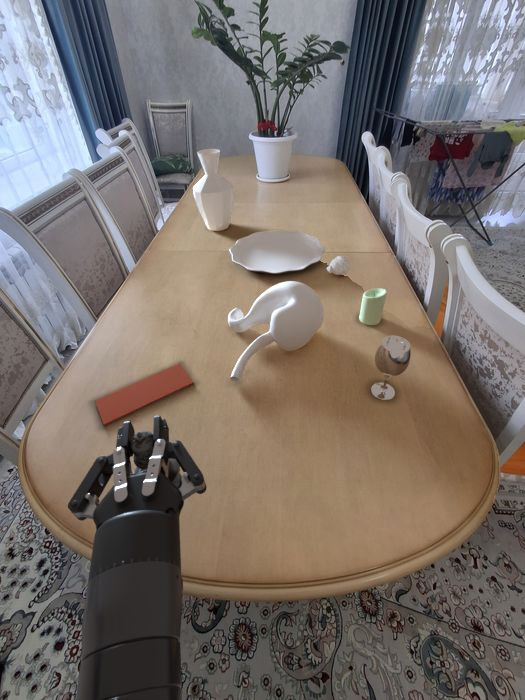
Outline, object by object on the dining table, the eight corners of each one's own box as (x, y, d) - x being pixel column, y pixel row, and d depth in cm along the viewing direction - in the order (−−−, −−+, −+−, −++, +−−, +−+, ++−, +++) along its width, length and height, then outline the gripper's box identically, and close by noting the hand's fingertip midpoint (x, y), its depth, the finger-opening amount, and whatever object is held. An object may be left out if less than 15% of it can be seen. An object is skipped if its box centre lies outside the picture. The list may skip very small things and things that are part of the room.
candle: (355, 321, 84) (360, 291, 79) (364, 311, 87) (369, 282, 81) (375, 328, 82) (381, 298, 76) (383, 317, 85) (390, 288, 79)
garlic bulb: (321, 274, 101) (323, 256, 98) (338, 268, 103) (340, 251, 100) (333, 282, 98) (334, 264, 94) (350, 276, 99) (352, 259, 96)
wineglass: (397, 406, 64) (413, 358, 56) (365, 398, 66) (376, 351, 58) (399, 384, 68) (414, 337, 60) (369, 377, 70) (380, 330, 62)
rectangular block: (180, 364, 75) (179, 362, 75) (193, 383, 71) (193, 382, 71) (95, 401, 68) (94, 400, 68) (104, 425, 64) (103, 424, 64)
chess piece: (144, 468, 49) (116, 414, 41) (186, 463, 49) (167, 408, 41) (137, 510, 44) (105, 459, 36) (183, 504, 45) (162, 452, 37)
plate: (311, 285, 97) (312, 277, 95) (215, 272, 105) (214, 265, 103) (331, 240, 117) (331, 233, 116) (249, 232, 125) (249, 226, 124)
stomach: (244, 324, 92) (222, 400, 76) (222, 284, 83) (193, 361, 67) (330, 310, 84) (326, 392, 68) (317, 264, 75) (309, 346, 59)
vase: (235, 233, 125) (228, 155, 109) (196, 234, 126) (183, 158, 109) (238, 218, 136) (231, 145, 119) (202, 219, 136) (190, 147, 120)
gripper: (212, 546, 28) (196, 390, 41) (26, 592, 26) (70, 414, 39) (223, 576, 33) (206, 429, 46) (67, 617, 31) (95, 451, 44)
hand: (143, 423), depth 42 cm, fingers closed on chess piece, 3 cm apart
